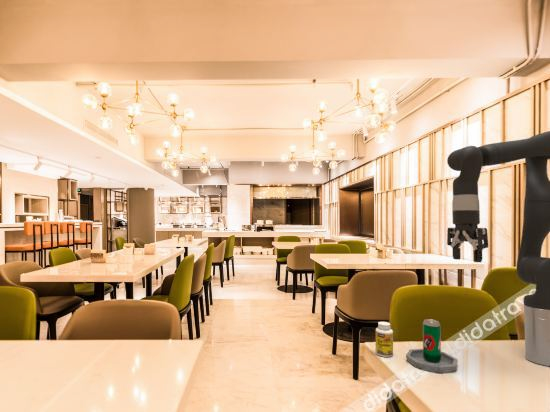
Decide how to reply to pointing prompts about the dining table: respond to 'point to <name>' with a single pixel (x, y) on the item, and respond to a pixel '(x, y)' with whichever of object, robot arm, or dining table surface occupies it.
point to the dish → (444, 366)
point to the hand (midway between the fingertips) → (466, 260)
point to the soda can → (431, 340)
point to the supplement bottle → (384, 339)
